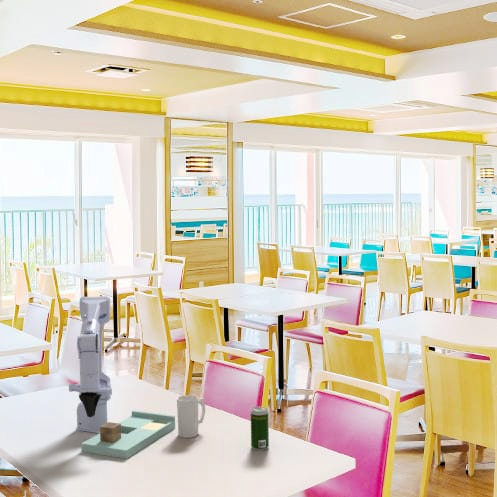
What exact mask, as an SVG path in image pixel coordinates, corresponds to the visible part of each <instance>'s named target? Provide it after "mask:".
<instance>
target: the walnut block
mask: <svg viewBox="0 0 497 497" xmlns="http://www.w3.org/2000/svg"><path fill="white" fill-rule="evenodd" d="M119 423H120V422H117V423H116V422H109V421H107V423H106V424H104V425H102V426H100V433H99V434H100V441H103V442H109V443H114V442H116V441H117V440H119V439H121V424H119Z"/></svg>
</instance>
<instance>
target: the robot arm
mask: <svg viewBox="0 0 497 497" xmlns="http://www.w3.org/2000/svg"><path fill="white" fill-rule="evenodd" d="M79 313H80V317H81V321H82V324H81V329H80V335H78V336H77V339H76V347H77V348H76V349H77V353H78V354H77V355H78V360H79V383H71V384H69V385H68V392H77V393H78V394H79V395H78V399H79V401H80V402H79V403H78V405H77V408H76V425H77V426H76V428H75V430H76V431H82V432H87V433H88V432H89V433H96V434H100V426H102V425H104V424H106V423H108V401H110V400H111V397H112V396H111V395H112V394H113V391H112V390H113V389H112V387H111V386H112V384H111V378H110V376H109V375H107V374H106V373H105V372H103V337H104V336H103V331H104V328H105V325H106V324H108V323H109V322H110V319H111V298H110V296H109V295H104V296H103V295H102V296H100V295H99V296H81V297H80V298H79Z"/></svg>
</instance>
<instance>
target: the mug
mask: <svg viewBox="0 0 497 497" xmlns="http://www.w3.org/2000/svg"><path fill="white" fill-rule="evenodd" d="M199 405H200V406H201V414H200V416H199ZM176 408H177V410H176V411H177V412H176V413H177V430H178V436H179V437H180V438H183V439H191V438H195V437H198V436H199V424H202V423H203V422H204V419H205V415H206V405H205V402H204V398H203V397H199V396H197V395H194V394H193V395H192V394H185V395H180V396H177V398H176Z"/></svg>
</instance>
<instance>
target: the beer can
mask: <svg viewBox="0 0 497 497" xmlns="http://www.w3.org/2000/svg"><path fill="white" fill-rule="evenodd" d="M269 427H270V425H269V410H268V408H267V407H265V406H254V407H251V410H250V446H251V449H252V450H253V451H257V452H263V451H266V450H268V449H269V446H270V440H269V437H270V436H269V435H270V434H269V432H270V431H269Z"/></svg>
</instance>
